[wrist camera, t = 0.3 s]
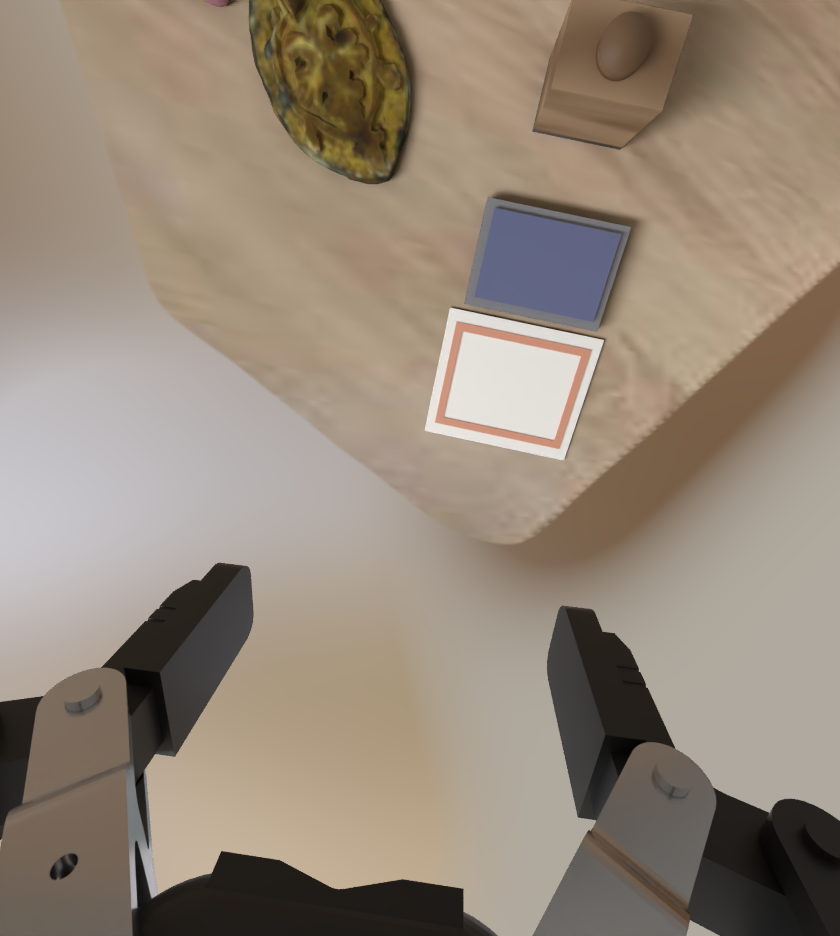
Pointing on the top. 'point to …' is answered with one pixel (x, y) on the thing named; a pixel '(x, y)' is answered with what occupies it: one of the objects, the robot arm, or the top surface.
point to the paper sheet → (511, 383)
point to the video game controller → (218, 2)
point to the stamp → (610, 71)
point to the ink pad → (545, 264)
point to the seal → (335, 81)
